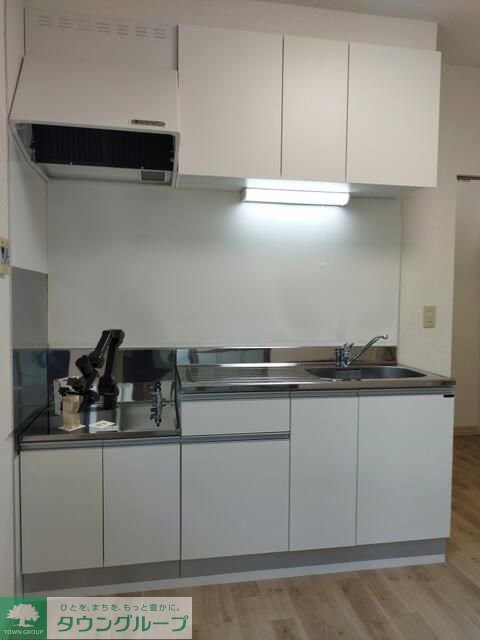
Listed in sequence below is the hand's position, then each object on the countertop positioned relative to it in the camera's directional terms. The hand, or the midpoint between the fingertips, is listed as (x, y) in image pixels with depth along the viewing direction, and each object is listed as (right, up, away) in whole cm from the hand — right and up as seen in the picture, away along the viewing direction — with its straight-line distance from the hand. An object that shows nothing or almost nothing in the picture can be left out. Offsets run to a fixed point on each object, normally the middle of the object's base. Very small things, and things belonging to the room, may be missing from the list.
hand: (69, 411), depth 189 cm
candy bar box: (-9, -5, +23) cm, 26 cm away
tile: (0, -7, +2) cm, 7 cm away
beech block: (0, -7, +2) cm, 7 cm away
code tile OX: (+12, -7, +5) cm, 15 cm away
